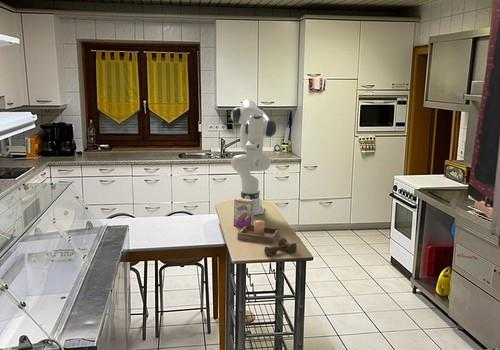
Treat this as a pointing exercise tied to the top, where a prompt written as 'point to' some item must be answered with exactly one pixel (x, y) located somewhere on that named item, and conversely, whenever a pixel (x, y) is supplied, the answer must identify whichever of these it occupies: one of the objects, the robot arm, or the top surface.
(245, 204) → the candy bar box
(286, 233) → the top surface
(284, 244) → the kendama
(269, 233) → the tray
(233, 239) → the top surface
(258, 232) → the peach rounded capsule
